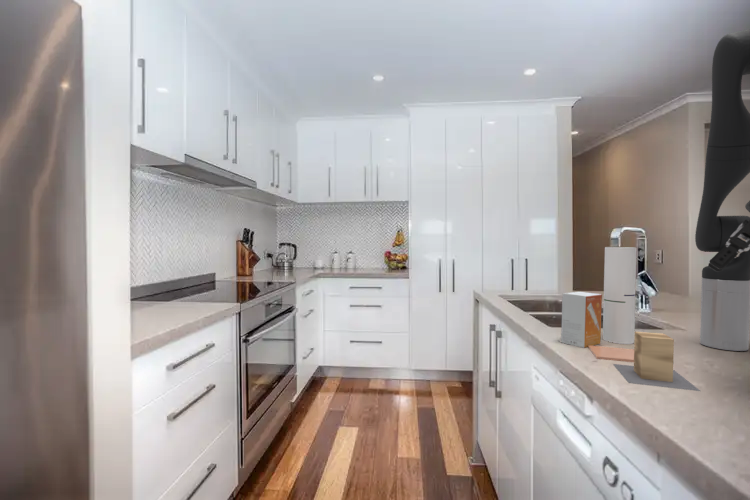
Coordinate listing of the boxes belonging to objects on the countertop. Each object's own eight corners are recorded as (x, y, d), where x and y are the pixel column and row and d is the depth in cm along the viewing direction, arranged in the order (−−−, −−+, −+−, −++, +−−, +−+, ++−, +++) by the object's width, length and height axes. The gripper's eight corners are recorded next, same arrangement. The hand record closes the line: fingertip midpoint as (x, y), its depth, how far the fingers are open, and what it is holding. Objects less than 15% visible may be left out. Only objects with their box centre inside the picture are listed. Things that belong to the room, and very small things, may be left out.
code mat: (612, 364, 83) (612, 363, 83) (673, 370, 80) (673, 369, 80) (628, 383, 72) (628, 382, 72) (700, 391, 68) (700, 390, 68)
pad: (588, 347, 96) (588, 345, 96) (634, 351, 93) (635, 349, 93) (596, 359, 87) (596, 356, 87) (648, 364, 84) (649, 361, 84)
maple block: (633, 370, 79) (634, 331, 79) (662, 373, 77) (663, 333, 77) (641, 378, 74) (642, 337, 74) (672, 381, 73) (673, 339, 72)
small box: (584, 348, 96) (586, 296, 95) (560, 342, 101) (561, 293, 101) (601, 344, 100) (602, 293, 100) (577, 338, 105) (578, 291, 105)
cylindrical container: (640, 344, 100) (643, 247, 100) (612, 343, 100) (615, 247, 100) (623, 337, 107) (625, 247, 107) (597, 337, 107) (599, 247, 107)
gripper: (760, 193, 75) (693, 258, 80) (771, 175, 64) (693, 251, 69) (806, 215, 71) (732, 282, 76) (826, 199, 60) (738, 279, 65)
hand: (713, 267), depth 73 cm, fingers open, 8 cm apart
